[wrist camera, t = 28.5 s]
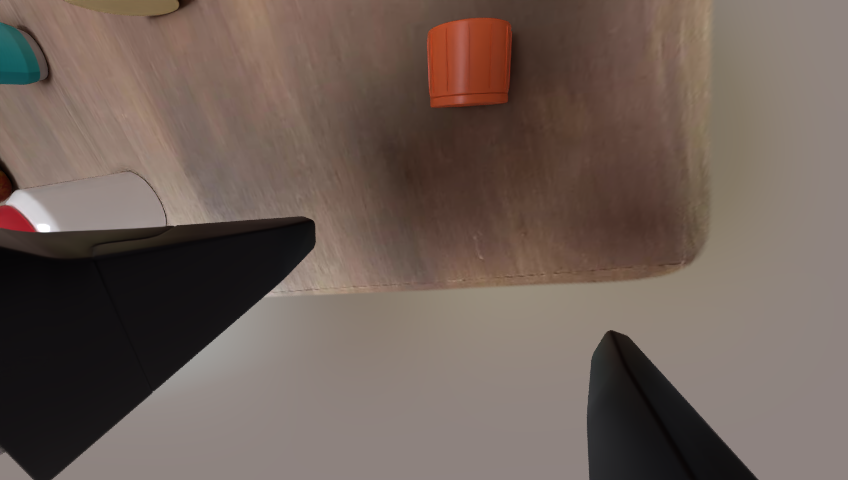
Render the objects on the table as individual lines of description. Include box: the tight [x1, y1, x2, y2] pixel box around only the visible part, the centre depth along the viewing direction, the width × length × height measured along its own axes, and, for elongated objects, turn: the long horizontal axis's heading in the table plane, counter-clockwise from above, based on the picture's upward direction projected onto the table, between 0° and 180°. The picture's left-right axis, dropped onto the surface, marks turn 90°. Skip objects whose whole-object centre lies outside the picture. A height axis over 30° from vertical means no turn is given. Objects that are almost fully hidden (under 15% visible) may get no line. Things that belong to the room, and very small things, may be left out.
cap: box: [427, 18, 512, 108], centre depth 15 cm, size 4×4×3 cm
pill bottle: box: [0, 172, 166, 232], centre depth 31 cm, size 8×8×11 cm
